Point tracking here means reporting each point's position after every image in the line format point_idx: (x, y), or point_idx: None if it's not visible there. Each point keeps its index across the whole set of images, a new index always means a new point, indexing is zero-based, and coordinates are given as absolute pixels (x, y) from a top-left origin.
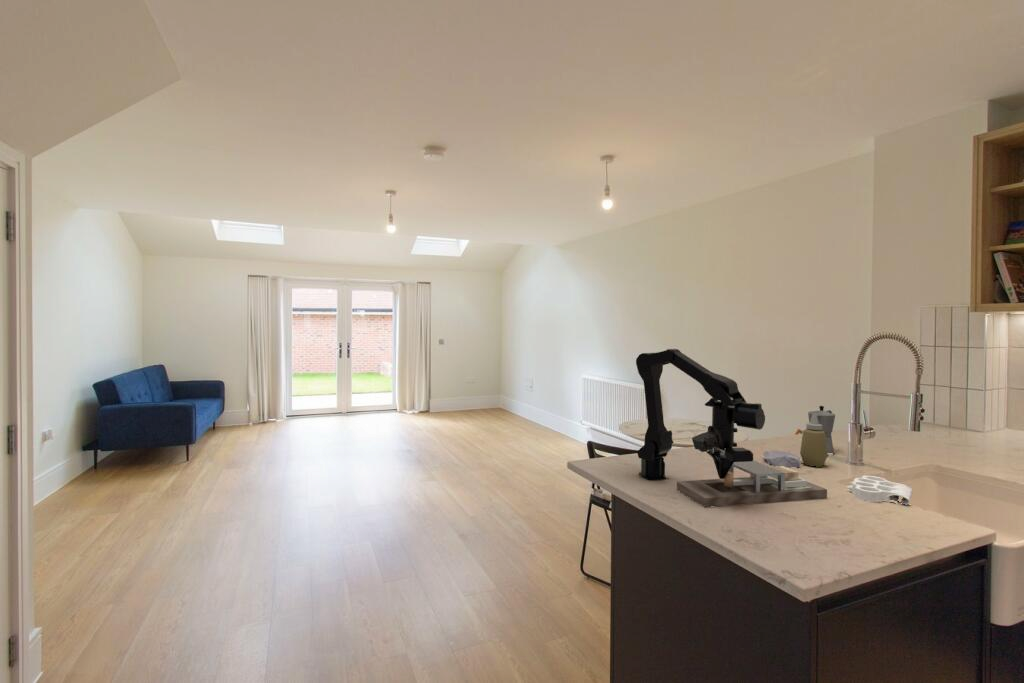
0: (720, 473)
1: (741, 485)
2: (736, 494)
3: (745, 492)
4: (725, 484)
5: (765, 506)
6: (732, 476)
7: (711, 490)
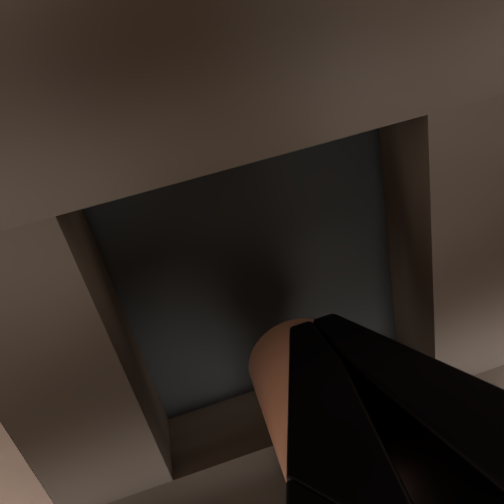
0: (306, 374)
1: None
2: (20, 368)
3: (115, 459)
4: (284, 336)
5: (26, 498)
6: None
7: (132, 102)
